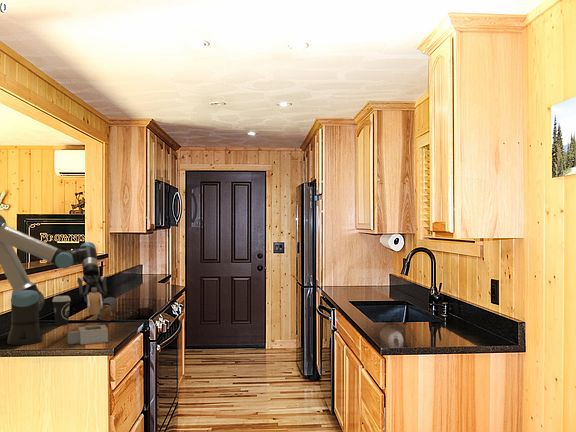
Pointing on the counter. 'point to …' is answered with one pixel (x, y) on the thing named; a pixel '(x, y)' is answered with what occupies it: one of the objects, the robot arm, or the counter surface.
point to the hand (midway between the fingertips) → (95, 307)
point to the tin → (107, 313)
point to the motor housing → (88, 335)
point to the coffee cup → (61, 309)
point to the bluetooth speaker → (110, 302)
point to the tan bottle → (94, 302)
